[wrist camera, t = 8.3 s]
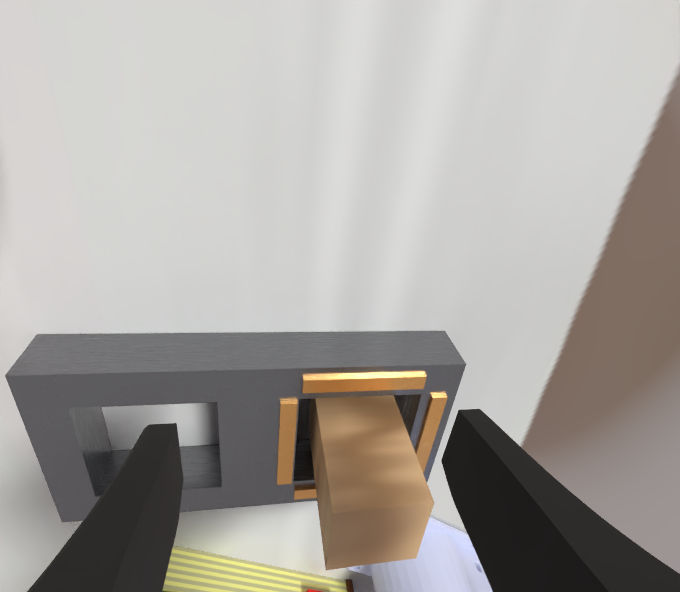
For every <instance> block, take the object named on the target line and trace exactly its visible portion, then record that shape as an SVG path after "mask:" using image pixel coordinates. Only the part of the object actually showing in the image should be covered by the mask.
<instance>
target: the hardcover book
mask: <svg viewBox="0 0 680 592" xmlns="http://www.w3.org/2000/svg"><path fill="white" fill-rule="evenodd" d="M162 592H354V590H353V584H352V580H348V579H347V580H346V581H344V580H339V579H334V578H329V577H324V576H319V575H314V574H310V573H305V572H300V571H295V570H290V569H285V568H280V567H276V566H271V565H266V564H261V563H256V562H251V561H246V560H241V559H237V558H232V557H227V556H222V555H217V554H212V553H207V552H203V551H198V550H193V549H188V548H183V547H178V546H173V548H172V552H171V556H170V561H169V565H168V569H167V573H166V578H165V582H164V586H163V591H162Z"/></svg>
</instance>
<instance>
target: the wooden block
mask: <svg viewBox="0 0 680 592" xmlns="http://www.w3.org/2000/svg"><path fill="white" fill-rule="evenodd" d="M309 437H310V445H311V453H312V461H313V469H314V477H315V486H316V494H317V502H318V510H319V518H320V526H321V534H322V543H323V551H324V559H325V567H326V570H330V569H338V568H346V567H354V566H361V565H369V564H377V563H384V562H392V561H400V560H408V559H415V558H416V557H417V554H418V551H419V548H420V545H421V542H422V539H423V536H424V533H425V530H426V526H427V523H428V520H429V517H430V514H431V511H432V508H433V505H434V501H433V498H432V496H431V493H430V490H429V488H428V485H427V482H426V480H425V477H424V474H423V472H422V469H421V466H420V464H419V461H418V459H417V456H416V453H415V451H414V448H413V445H412V443H411V440H410V437H409V435H408V432H407V429H406V427H405V424H404V421H403V419H402V416H401V414H400V411H399V408H398V406H397V403H396V400H395V398H394V395H389V396H363V397H337V398H311V399H310V414H309Z"/></svg>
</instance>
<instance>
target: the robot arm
mask: <svg viewBox="0 0 680 592" xmlns="http://www.w3.org/2000/svg"><path fill="white" fill-rule="evenodd" d="M441 461H442V464H443V468H444V471H445V475H446V478H447V482H448V485H449V488H450V491H451V495H452V498H453V500H454V503H455V505H456V508H457V510H458V512H459V515H460V517H461V519H462V522H463V524H464V526H465V529H466V531H467V533H468V534H466V533H464V532H462V531H460V530H457V529H455V528H453V527H451V526H449V525H446V524H444V523H442V522H440V521H438V520H435V519H433V518H431V517H429V520H428V523H427V526H426V530H425V533H424V536H423V539H422V542H421V545H420V548H419V551H418V554H417V557H416V558H415V559H408V560H400V561H392V562H384V563H377V564H369V565H361V566H354V567H346V568H347V569H349V570H351V571H355V572H358V573H361V574H364V575H367V576H370V577H372V580H373V585H374V590H375V592H680V574H679V573H677V572H676V571H674V570H673V569H671V568H670V567H668V566H667V565H665V564H664V563H662V562H661V561H660V560H658V559H657V558H655V557H654V556H652V555H651V554H650V553H648V552H647V551H645V550H644V549H643V548H641V547H640V546H639V545H637V544H636V543H634V542H633V541H632V540H630V539H629V538H628V537H626V536H625V535H624V534H622V533H621V532H620V531H618V530H617V529H616V528H614V527H613V526H612V525H610V524H609V523H608V522H606V521H605V520H604V519H603V518H601V517H600V516H599V515H598V514H596V513H595V512H594V511H593V510H591V509H590V508H589V507H588V506H587V505H586V504H584V503H583V502H582V501H581V500H580V499H578V498H577V497H576V496H575V495H573V494H572V493H571V492H570V491H569V490H567V489H566V488H565V487H564V486H563V485H562V484H561V483H560V482H558V481H557V480H556V479H555V478H554V477H553V476H552V475H550V474H549V473H548V472H547V471H546V470H544V468H543V467H542V466H540V465H539V464H538V463H537V462H536V461H535V460H534V459H533V458H532V457H531V456H529V455H528V454H527V453H526V452H525V451H524V450H523V449H522V448H521V447H520V446H519V445H518V444H517V443H516V442H515V441H513V440H512V439H511V438H510V437H509V436H508V435H507V434H506V433H505V432H504V431H503V430H502V429H501V428H500V427H499V426H498V425H497V424H495V423H494V422H493V421H492V420H491V419H490V418H489V417H488V416H487V415H486V414H485V413H483V412H482V411H481V410H480V409H469V410H459V411H458V414H457V417H456V420H455V422H454V425H453V428H452V431H451V434H450V437H449V440H448V443H447V446H446V449H445V452H444V455H443V457H442V460H441ZM183 480H184V478H183V470H182V463H181V455H180V447H179V440H178V432H177V424H176V423H174V424H153V425H148V426H147V427H146V428H144V430H143V432H142V434H141V435H140V437H139V439H138V440H137V442H136V444H135V445H134V447H133V449H132V450H131V452H130V454H129V455H128V457H127V458H126V460H125V461H124V463H123V465H122V466H121V468H120V469H119V471H118V472H117V474H116V475H115V477H114V478H113V480H112V481H111V483H110V484H109V485H108V487H107V488H106V490H105V491H104V493H103V494H102V495H101V497H100V498H99V500H98V501H97V503H96V504H95V505H94V507H93V508H92V510H91V511H90V513H89V514H88V515H87V517H86V518H85V519H84V521H83V522H82V523H81V525H80V526H79V527H78V529H77V530H76V531H75V533H74V534H73V535H72V536H71V538H70V539H69V540H68V542H67V543H66V544H65V546H64V547H63V548H62V549H61V551H60V552H59V553H58V555H57V556H56V557H55V559H54V560H53V561H52V562H51V564H50V565H49V566H48V567H47V569H46V570H45V571H44V572H43V573H42V575H41V576H40V577H39V578H38V580H37V581H36V582H35V583H34V584H33V586H32V587H31V588H30V589H29V590H28V591H27V592H162V591H163V586H164V582H165V578H166V573H167V569H168V565H169V561H170V556H171V552H172V548H173V543H174V539H175V535H176V530H177V526H178V520H179V512H180V505H181V497H182V488H183Z"/></svg>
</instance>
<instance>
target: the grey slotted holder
mask: <svg viewBox="0 0 680 592" xmlns="http://www.w3.org/2000/svg"><path fill="white" fill-rule="evenodd" d="M465 366H466V363H465V362H464V360H463V359H462V357H461V355H460V354H459V352H458V351H457V349H456V348H455V346H454V345H453V343H452V341H451V340H450V338H449V337H448V335H447V334H446V332H445V331H398V332H277V333H157V334H37V335H36V336H35V338H34V339H33V340H32V342H31V343H30V344H29V345H28V347H27V348H26V349H25V351H24V352H23V353H22V355H21V356H20V357H19V358H18V360H17V361H16V362H15V364H14V365H13V366H12V367H11V369H10V370H9V371H8V373H7V374H6V375H5V376H6V379H7V382H8V384H9V387H10V389H11V392H12V394H13V397H14V399H15V402H16V405H17V407H18V410H19V412H20V415H21V417H22V420H23V423H24V425H25V428H26V430H27V433H28V435H29V438H30V441H31V443H32V446H33V448H34V451H35V453H36V456H37V458H38V461H39V464H40V466H41V469H42V471H43V474H44V476H45V479H46V482H47V484H48V487H49V489H50V492H51V494H52V497H53V500H54V502H55V505H56V507H57V510H58V512H59V515H60V517H61V520H62V522H71V521H83V520H84V519H85V518H86V517H87V515H88V514H89V513H90V511H91V510H92V508H93V507H94V505H95V504H96V503H97V501H98V500H99V498H100V497H101V495H102V494H103V493H104V491H105V490H106V488H107V487H108V485H109V484H110V483H111V481H112V480H113V478H114V477H115V475H116V474H117V472H118V471H119V469H120V468H121V466H122V465H123V463H124V461H125V460H126V458H127V457H128V455H129V454H130V452H131V450H121V451H112V449H111V445H110V441H109V437H108V433H107V429H106V425H105V421H104V417H103V413H102V409H101V407H106V406H132V405H157V404H183V403H209V402H217V410H218V427H219V444H220V445H208V446H191V447H180V455H181V463H182V470H183V478H184V480H183V488H182V497H181V505H180V512H187V511H199V510H210V509H222V508H234V507H245V506H257V505H268V504H280V503H292V502H303V501H315V500H317V494H316V486H315V477H314V469H313V461H312V453H311V445H310V440H296V438H297V425H298V412H299V399H311V398H337V397H363V396H389V395H397V398H396V403H397V406H398V408H399V411H400V414H401V416H402V419H403V421H404V424H405V427H406V429H407V432H408V435H409V437H410V440H411V443H412V445H413V448H414V451H415V453H416V456H417V459H418V461H419V464H420V466H421V469H422V472H423V474H424V477H425V480H426V482H427V481H428V478H429V475H430V472H431V469H432V466H433V463H434V460H435V457H436V454H437V451H438V448H439V445H440V442H441V439H442V436H443V433H444V430H445V427H446V424H447V421H448V418H449V414H450V411H451V408H452V405H453V402H454V399H455V396H456V393H457V390H458V387H459V384H460V381H461V378H462V375H463V372H464V369H465Z"/></svg>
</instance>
